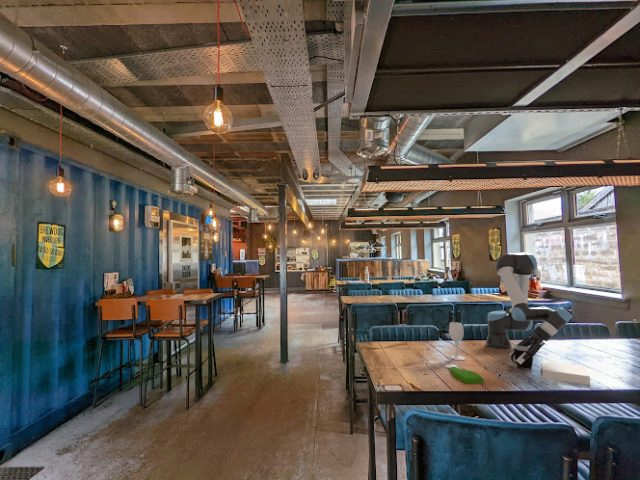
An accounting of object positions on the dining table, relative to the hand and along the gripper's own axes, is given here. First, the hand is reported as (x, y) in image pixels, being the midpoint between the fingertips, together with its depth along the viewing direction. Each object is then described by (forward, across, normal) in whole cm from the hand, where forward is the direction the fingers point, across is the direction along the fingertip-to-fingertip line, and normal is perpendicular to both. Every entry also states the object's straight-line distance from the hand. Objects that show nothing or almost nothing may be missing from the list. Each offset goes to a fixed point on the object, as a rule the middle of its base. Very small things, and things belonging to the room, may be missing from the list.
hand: (514, 359), depth 175 cm
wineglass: (+23, +11, +17) cm, 30 cm away
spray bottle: (+25, -18, +19) cm, 36 cm away
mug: (+1, 0, -5) cm, 5 cm away
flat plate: (-10, -12, -15) cm, 22 cm away
